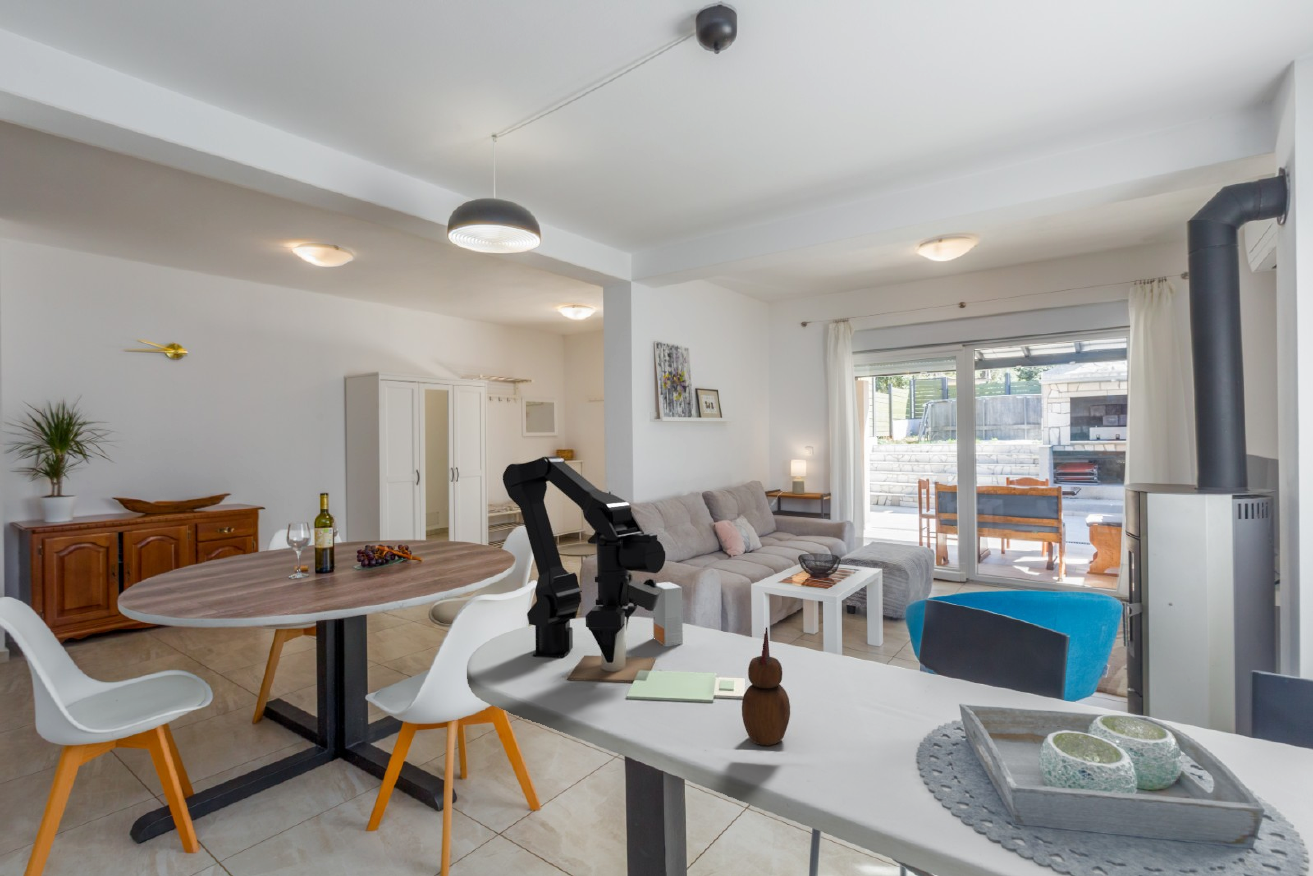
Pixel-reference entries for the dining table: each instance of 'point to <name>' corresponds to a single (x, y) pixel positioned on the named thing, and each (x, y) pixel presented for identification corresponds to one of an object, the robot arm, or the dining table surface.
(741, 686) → the card
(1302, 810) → the dining table surface
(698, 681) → the green mat
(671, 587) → the skincare box
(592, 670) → the walnut mat
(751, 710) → the wooden figurine
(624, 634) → the bottle
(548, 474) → the robot arm
